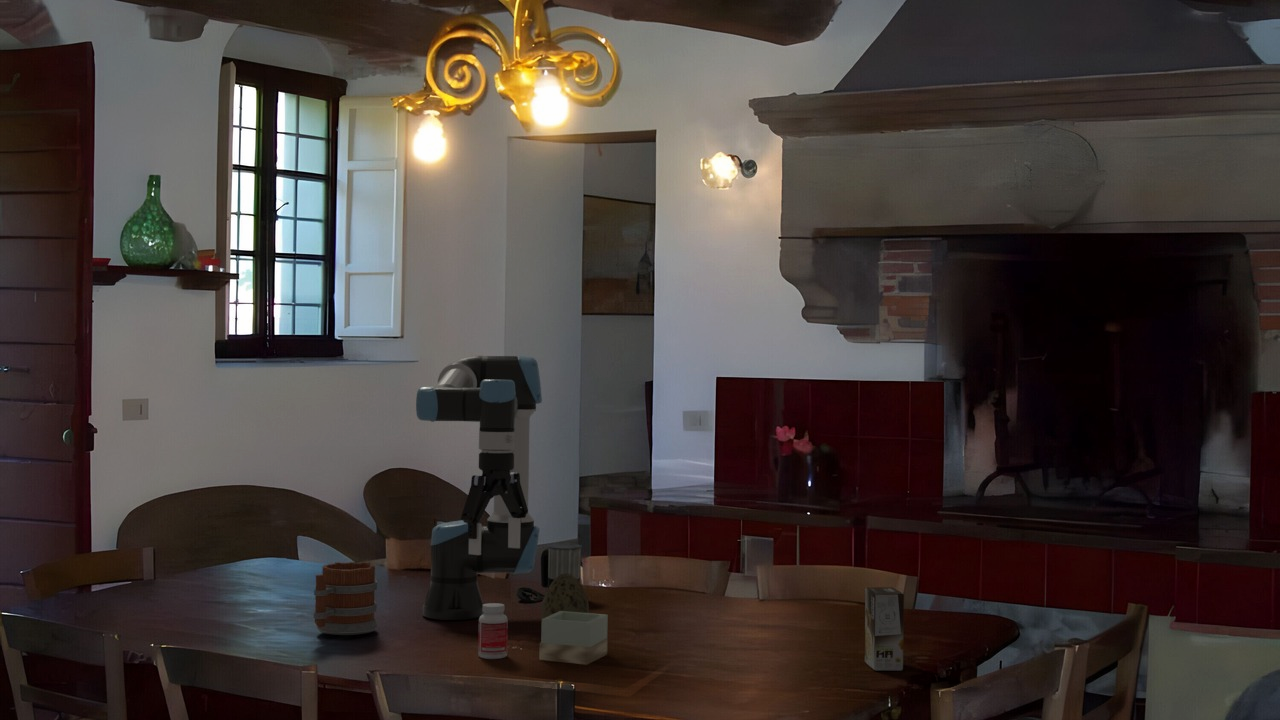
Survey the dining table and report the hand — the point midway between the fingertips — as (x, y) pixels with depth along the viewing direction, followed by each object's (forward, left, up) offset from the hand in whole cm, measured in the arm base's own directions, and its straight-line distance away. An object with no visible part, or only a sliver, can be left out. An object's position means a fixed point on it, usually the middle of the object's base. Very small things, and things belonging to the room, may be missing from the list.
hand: (494, 551), depth 285 cm
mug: (-45, +1, -23) cm, 50 cm away
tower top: (+14, +10, -19) cm, 26 cm away
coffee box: (+72, +41, -23) cm, 86 cm away
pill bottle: (0, 0, -23) cm, 23 cm away
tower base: (+14, +10, -23) cm, 29 cm away
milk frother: (-30, +62, -23) cm, 73 cm away
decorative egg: (+2, +24, -23) cm, 33 cm away
